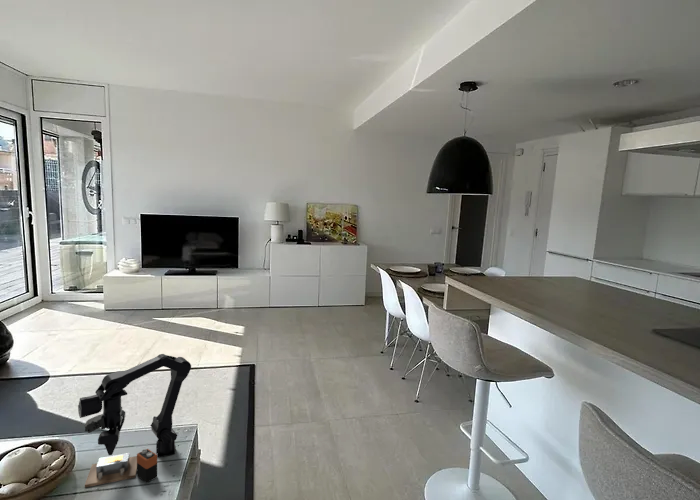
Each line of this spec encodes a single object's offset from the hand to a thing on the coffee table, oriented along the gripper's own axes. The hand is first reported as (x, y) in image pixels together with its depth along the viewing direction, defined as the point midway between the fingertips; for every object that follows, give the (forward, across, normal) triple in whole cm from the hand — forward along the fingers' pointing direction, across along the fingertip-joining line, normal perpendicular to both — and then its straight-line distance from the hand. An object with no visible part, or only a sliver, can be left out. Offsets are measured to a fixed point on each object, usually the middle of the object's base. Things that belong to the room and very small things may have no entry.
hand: (112, 447), depth 145 cm
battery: (+10, +7, +12) cm, 17 cm away
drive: (+9, 0, 0) cm, 9 cm away
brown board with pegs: (+10, 0, 0) cm, 10 cm away
